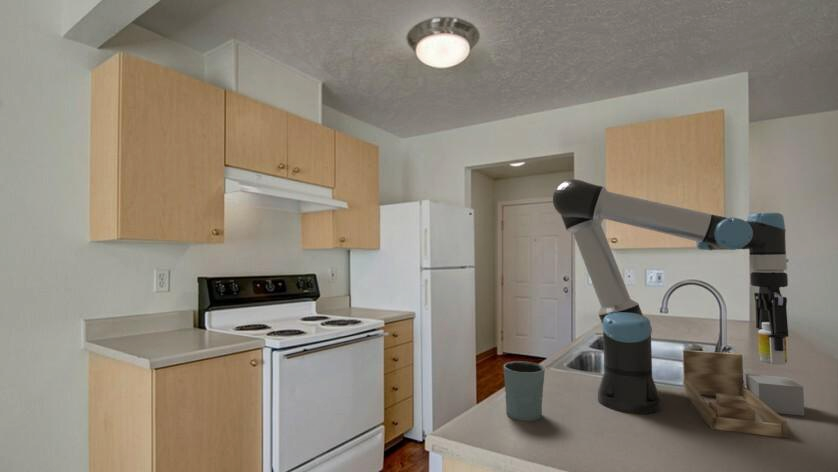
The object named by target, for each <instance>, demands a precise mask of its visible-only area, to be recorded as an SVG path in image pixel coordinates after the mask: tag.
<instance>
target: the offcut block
mask: <svg viewBox="0 0 838 472" xmlns="http://www.w3.org/2000/svg"><path fill="white" fill-rule="evenodd" d="M715 397H716V402H717V403H718V404H719V405H720V407H728V408H737V409H746V410H747V406H746V400H745V399H744V398H743V397H742V396H734V395H725V394H716V396H715Z"/></svg>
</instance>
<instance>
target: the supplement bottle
mask: <svg viewBox="0 0 838 472" xmlns="http://www.w3.org/2000/svg"><path fill="white" fill-rule="evenodd" d="M757 333H758V338H757V339H758V357H759V361H760V362H762V363H766V364H771V365H781V366H783V365H786V364H787V361H788V360H787V359H788V358H787V357H788V356H787V337H785V338H784V349H785V364H776V363H771V356H770V337H768V335H771V330H770V324H769V322H762V329H761V330H759V329H758V332H757Z"/></svg>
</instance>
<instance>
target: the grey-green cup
mask: <svg viewBox="0 0 838 472" xmlns="http://www.w3.org/2000/svg"><path fill="white" fill-rule="evenodd" d="M545 371H546V369H545V367H544V366H543V365H542V364H540V363H535V362H530V361H508V362H506V363H504V364H503V375H504V391H505V409H506V410H505V412H506V415H507V417H509V418H511V419H513V420H516V421H520V422H521V421H522V422H534V421H538V420H540V419H542V415H543V414H542V411H543V404H542V403H543V396H544V395H543V391H544V381H545Z"/></svg>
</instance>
